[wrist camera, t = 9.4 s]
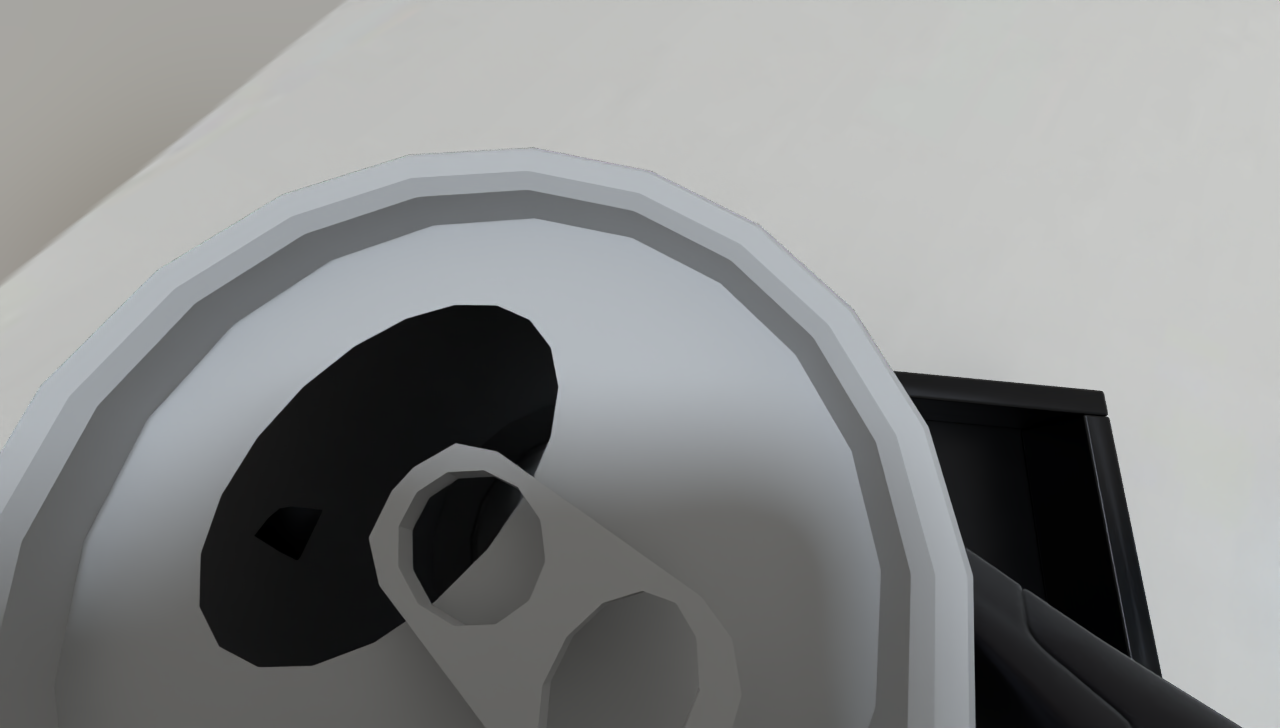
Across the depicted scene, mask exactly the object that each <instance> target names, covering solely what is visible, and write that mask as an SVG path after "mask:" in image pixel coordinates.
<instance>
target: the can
mask: <svg viewBox="0 0 1280 728" xmlns="http://www.w3.org/2000/svg"><path fill="white" fill-rule="evenodd" d="M290 506H294V507H303V508H312V509H320V510H322V513H321V515H320V517H319V520H318V522H317V524H316V526H315V528H314V530H313V532H312V534H311V536H310V538H309V541H308V543H307V545H306V547H305V549H304V551H303V553H302V555H301V557H300V558H299V559H298V560H295V559H293V558H291V557H289V556H287V555H285V554H283V553H281V552H279V551H277V550H276V549H274V548H273V547H271V546H270V545H268V544H266V543H265V542H263V541H262V540H260V539H258V538H257V537H255V536H254V535H255V534H256V533H257V532H258V530H259V529H260V528H261V526H262V525H263V524H264V523H265V521H266V520H267V519H268V518H269V517H270V516H271V515H272V514H274V513H275V512H276V511H277V510H278V509H279V508H284V507H290ZM0 728H976V727H975V664H974V601H973V574H972V571H971V567H970V564H969V561H968V557H967V554H966V551H965V547H964V544H963V541H962V537H961V534H960V531H959V527H958V524H957V521H956V517H955V514H954V511H953V507H952V504H951V501H950V497H949V494H948V491H947V487H946V484H945V481H944V477H943V474H942V470H941V467H940V464H939V460H938V457H937V454H936V450H935V447H934V444H933V440H932V437H931V434H930V430H929V427H928V425H927V424H926V422H925V421H924V419H923V417H922V416H921V414H920V413H919V411H918V410H917V408H916V406H915V405H914V403H913V402H912V400H911V399H910V397H909V395H908V394H907V392H906V391H905V389H904V387H903V386H902V384H901V383H900V381H899V380H898V378H897V376H896V375H895V373H894V372H893V370H892V369H891V367H890V365H889V364H888V362H887V361H886V359H885V357H884V356H883V354H882V353H881V351H880V350H879V348H878V346H877V345H876V343H875V342H874V340H873V339H872V337H871V335H870V334H869V332H868V331H867V329H866V327H865V326H864V324H863V323H862V321H861V320H860V318H859V316H858V315H857V313H856V312H855V310H854V309H853V308H852V307H851V306H850V305H848V304H847V303H846V302H845V301H844V300H843V299H842V298H841V297H840V296H838V295H837V294H836V293H835V292H834V291H833V290H832V289H831V288H830V287H828V286H827V285H826V284H825V283H824V282H823V281H822V280H821V279H820V278H818V277H817V276H816V275H815V274H814V273H813V272H812V271H811V270H809V269H808V268H807V267H806V266H805V265H804V264H803V263H802V262H801V261H799V260H798V259H797V258H796V257H795V256H794V255H793V254H792V253H791V252H789V251H788V250H787V249H786V248H785V247H784V246H783V245H782V244H781V243H779V242H778V241H777V240H776V239H775V238H774V237H773V236H772V235H771V234H769V233H768V232H767V231H766V230H765V229H764V228H763V227H762V226H761V225H759V224H757V223H755V222H753V221H751V220H749V219H747V218H745V217H743V216H741V215H739V214H737V213H735V212H733V211H731V210H729V209H727V208H725V207H723V206H721V205H719V204H717V203H715V202H713V201H711V200H709V199H707V198H705V197H703V196H701V195H699V194H697V193H695V192H693V191H691V190H689V189H687V188H685V187H683V186H681V185H679V184H677V183H675V182H673V181H671V180H669V179H667V178H665V177H663V176H661V175H659V174H657V173H655V172H653V171H649V170H644V169H639V168H634V167H629V166H624V165H619V164H614V163H609V162H604V161H599V160H594V159H589V158H584V157H579V156H574V155H569V154H564V153H559V152H554V151H549V150H544V149H539V148H534V147H532V148H515V149H498V150H481V151H463V152H446V153H429V154H412V155H407V156H403V157H400V158H397V159H394V160H391V161H387V162H384V163H381V164H378V165H375V166H372V167H368V168H365V169H362V170H359V171H356V172H352V173H349V174H346V175H343V176H340V177H336V178H333V179H330V180H327V181H324V182H321V183H317V184H314V185H311V186H308V187H305V188H301V189H298V190H295V191H292V192H289V193H285V194H282V195H281V196H279V197H277V198H276V199H274V200H272V201H271V202H269V203H267V204H266V205H264V206H262V207H261V208H259V209H258V210H256V211H254V212H253V213H251V214H249V215H248V216H246V217H244V218H243V219H241V220H239V221H238V222H236V223H234V224H233V225H231V226H229V227H228V228H226V229H224V230H223V231H221V232H219V233H218V234H216V235H214V236H213V237H211V238H210V239H208V240H206V241H205V242H203V243H201V244H200V245H198V246H196V247H195V248H193V249H191V250H190V251H188V252H186V253H185V254H183V255H181V256H180V257H178V258H176V259H175V260H173V261H171V262H170V263H168V264H166V265H165V266H163V267H162V268H160V269H158V270H157V271H156V272H155V273H154V274H153V275H152V276H151V277H150V278H149V279H148V280H147V281H146V282H145V283H144V284H143V285H141V286H140V287H139V288H138V289H137V290H136V291H135V292H134V293H133V294H132V295H131V296H130V297H129V298H128V299H127V300H126V301H125V302H124V303H123V304H122V305H121V306H120V307H119V308H118V309H117V310H116V311H115V312H114V313H113V314H112V315H111V316H110V317H109V318H108V319H107V320H106V321H105V322H104V323H103V324H102V325H101V326H100V327H99V328H98V329H97V330H96V331H95V332H94V333H93V334H92V335H91V336H90V337H89V338H88V339H87V340H86V341H85V342H84V343H83V344H82V345H81V346H80V347H79V348H78V349H77V350H76V351H75V352H74V353H73V354H72V355H71V356H70V357H69V358H68V359H67V360H66V361H65V362H64V363H63V364H62V365H61V366H60V367H59V368H58V369H57V370H56V371H55V372H54V373H53V374H52V375H51V376H50V377H49V378H48V379H47V380H46V381H45V382H44V383H43V384H42V385H41V386H40V388H39V389H38V391H37V393H36V394H35V396H34V398H33V399H32V401H31V403H30V404H29V406H28V408H27V409H26V411H25V413H24V414H23V416H22V418H21V419H20V421H19V423H18V424H17V426H16V427H15V429H14V431H13V432H12V434H11V436H10V437H9V439H8V441H7V442H6V444H5V446H4V447H3V449H2V451H1V452H0Z"/></svg>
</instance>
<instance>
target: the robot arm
mask: <svg viewBox="0 0 1280 728" xmlns="http://www.w3.org/2000/svg"><path fill="white" fill-rule="evenodd" d="M321 513H322V510H320V509H312V508H303V507H294V506H290V507H284V508H279V509H278V510H277V511H276V512H275V513H274V514H272V515H271V516H270V517H269V518H268V519H267V520H266V521H265V523H264V524H263V525H262V526H261V528H260V529H259V530H258V532H257V533H256V534H255V535H254V536H255V537H257V538H258V539H260V540H262V541H263V542H265V543H266V544H268V545H270V546H271V547H273V548H274V549H276V550H277V551H279V552H281V553H283V554H285V555H287V556H289V557H291V558H293V559H295V560H298V559H299V558H300V557H301V555H302V553H303V551H304V549H305V547H306V545H307V543H308V541H309V538H310V536H311V534H312V532H313V530H314V528H315V526H316V524H317V522H318V520H319V517H320V515H321ZM964 547H965V546H964ZM965 551H966V554H967V557H968V561H969V564H970V567H971V571H972V574H973V601H974V664H975V727H976V728H1242V727H1240V726H1239V725H1237V724H1236V723H1234V722H1232V721H1231V720H1229V719H1227V718H1226V717H1224V716H1223V715H1221V714H1219V713H1218V712H1216V711H1215V710H1213V709H1211V708H1210V707H1208V706H1206V705H1205V704H1203V703H1202V702H1200V701H1198V700H1197V699H1195V698H1193V697H1192V696H1190V695H1189V694H1187V693H1185V692H1184V691H1182V690H1181V689H1179V688H1177V687H1176V686H1174V685H1172V684H1171V683H1169V682H1168V681H1166V680H1164V679H1163V678H1161V677H1160V676H1158V675H1156V674H1155V673H1153V672H1152V671H1150V670H1148V669H1147V668H1145V667H1144V666H1142V665H1141V664H1139V663H1137V662H1136V661H1134V660H1133V659H1131V658H1129V657H1128V656H1126V655H1125V654H1123V653H1122V652H1120V651H1118V650H1117V649H1115V648H1114V647H1112V646H1110V645H1109V644H1107V643H1106V642H1104V641H1103V640H1101V639H1100V638H1098V637H1097V636H1095V635H1094V634H1092V633H1091V632H1089V631H1088V630H1086V629H1085V628H1083V627H1082V626H1080V625H1079V624H1077V623H1076V622H1074V621H1073V620H1071V619H1070V618H1068V617H1067V616H1065V615H1064V614H1062V613H1061V612H1059V611H1058V610H1056V609H1055V608H1053V607H1052V606H1050V605H1049V604H1048V603H1046V602H1045V601H1043V600H1042V599H1040V598H1039V597H1037V596H1036V595H1035V594H1033V593H1032V592H1030V591H1029V590H1027V589H1023V590H1022V588H1021V586H1020V584H1018V583H1017V582H1015V581H1014V580H1013V579H1011V578H1010V577H1008V576H1007V575H1005V574H1004V573H1002V572H1001V571H1000V570H998V569H997V568H995V567H994V566H992V565H991V564H989V563H988V562H986V561H985V560H984V559H982V558H981V557H979V556H978V555H976V554H975V553H973V552H972V551H970V550H969V549H968V548H966V547H965Z"/></svg>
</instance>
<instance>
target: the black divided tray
mask: <svg viewBox="0 0 1280 728" xmlns="http://www.w3.org/2000/svg"><path fill="white" fill-rule="evenodd" d="M893 372H894V373H895V375H896V376H897V378H898V380H899V381H900V383H901V384H902V386H903V387H904V389H905V391H906V392H907V394H908V395H909V397H910V399H911V400H912V402H913V403H914V405H915V406H916V408H917V410H918V411H919V413H920V414H921V416H922V417H923V419H924V421H925V422H926V424H927V425H928V427H929V430H930V434H931V437H932V440H933V444H934V447H935V450H936V454H937V457H938V460H939V464H940V467H941V470H942V474H943V477H944V481H945V484H946V487H947V491H948V494H949V497H950V501H951V504H952V507H953V511H954V514H955V517H956V521H957V524H958V527H959V531H960V534H961V537H962V541H963V544H964V546H965V547H966V548H968V549H969V550H970V551H972V552H973V553H975V554H976V555H978V556H979V557H981V558H982V559H984V560H985V561H986V562H988V563H989V564H991V565H992V566H994V567H995V568H997V569H998V570H1000V571H1001V572H1002V573H1004V574H1005V575H1007V576H1008V577H1010V578H1011V579H1013V580H1014V581H1015V582H1017V583H1018V584H1020V586H1021V588H1022V590H1023V589H1027V590H1029V591H1030V592H1032V593H1033V594H1035V595H1036V596H1037V597H1039V598H1040V599H1042V600H1043V601H1045V602H1046V603H1048V604H1049V605H1050V606H1052V607H1053V608H1055V609H1056V610H1058V611H1059V612H1061V613H1062V614H1064V615H1065V616H1067V617H1068V618H1070V619H1071V620H1073V621H1074V622H1076V623H1077V624H1079V625H1080V626H1082V627H1083V628H1085V629H1086V630H1088V631H1089V632H1091V633H1092V634H1094V635H1095V636H1097V637H1098V638H1100V639H1101V640H1103V641H1104V642H1106V643H1107V644H1109V645H1110V646H1112V647H1114V648H1115V649H1117V650H1118V651H1120V652H1122V653H1123V654H1125V655H1126V656H1128V657H1129V658H1131V659H1133V660H1134V661H1136V662H1137V663H1139V664H1141V665H1142V666H1144V667H1145V668H1147V669H1148V670H1150V671H1152V672H1153V673H1155V674H1156V675H1158V676H1160V677H1161V678H1162V674H1161V669H1160V664H1159V659H1158V655H1157V650H1156V645H1155V640H1154V635H1153V630H1152V625H1151V620H1150V615H1149V610H1148V606H1147V601H1146V596H1145V591H1144V586H1143V581H1142V576H1141V571H1140V566H1139V561H1138V556H1137V552H1136V547H1135V542H1134V537H1133V532H1132V527H1131V522H1130V517H1129V512H1128V507H1127V503H1126V498H1125V493H1124V488H1123V483H1122V478H1121V473H1120V468H1119V463H1118V458H1117V453H1116V449H1115V444H1114V439H1113V434H1112V429H1111V424H1110V419H1109V417H1105V416H1107V415H1108V411H1107V406H1106V401H1105V396H1104V393H1103V392H1102V391H1097V390H1087V389H1076V388H1066V387H1056V386H1045V385H1035V384H1024V383H1014V382H1003V381H993V380H982V379H972V378H961V377H951V376H940V375H930V374H919V373H909V372H898V371H893Z"/></svg>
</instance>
